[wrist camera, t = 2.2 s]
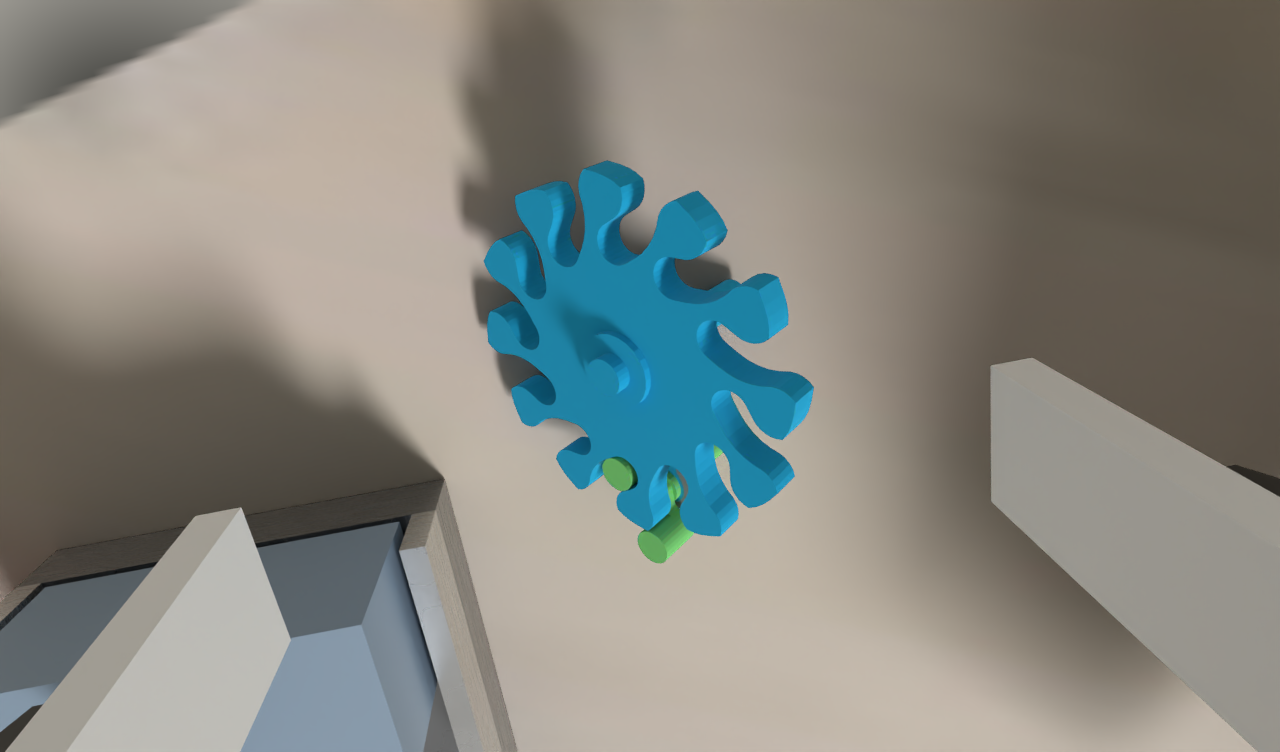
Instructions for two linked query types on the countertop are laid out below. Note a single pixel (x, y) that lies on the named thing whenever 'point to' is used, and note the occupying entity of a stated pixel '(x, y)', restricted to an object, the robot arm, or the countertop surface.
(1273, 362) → the countertop surface
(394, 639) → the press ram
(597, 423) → the gear
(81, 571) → the frame
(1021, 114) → the countertop surface
